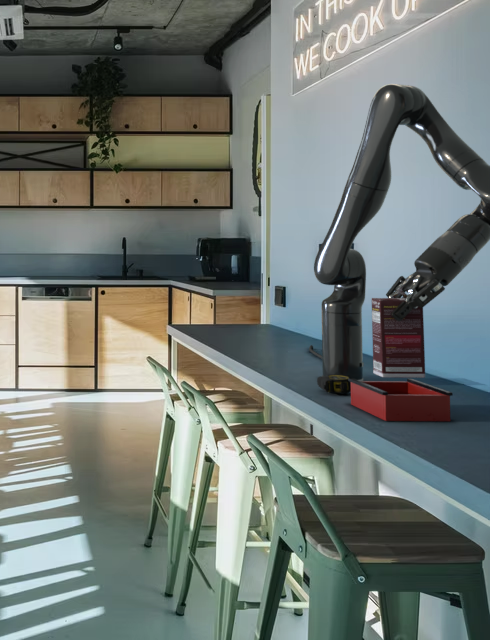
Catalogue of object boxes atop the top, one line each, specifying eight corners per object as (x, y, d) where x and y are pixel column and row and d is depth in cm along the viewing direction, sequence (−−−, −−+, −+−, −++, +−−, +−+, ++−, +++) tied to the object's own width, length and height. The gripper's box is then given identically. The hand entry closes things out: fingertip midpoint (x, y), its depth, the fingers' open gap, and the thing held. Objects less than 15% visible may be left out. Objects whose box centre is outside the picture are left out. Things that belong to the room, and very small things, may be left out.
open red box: (348, 404, 157) (348, 378, 157) (412, 404, 157) (411, 378, 157) (383, 421, 142) (382, 392, 142) (453, 421, 142) (452, 392, 142)
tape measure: (316, 389, 172) (316, 373, 173) (347, 390, 171) (346, 374, 171) (323, 395, 166) (323, 379, 166) (356, 396, 165) (355, 380, 165)
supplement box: (414, 374, 152) (413, 297, 152) (426, 378, 147) (424, 299, 147) (371, 373, 152) (370, 297, 153) (381, 377, 148) (380, 299, 148)
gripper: (413, 245, 158) (358, 300, 157) (453, 245, 143) (392, 307, 143) (438, 269, 158) (383, 325, 157) (481, 272, 143) (420, 334, 143)
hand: (388, 316), depth 150 cm, fingers closed on supplement box, 5 cm apart
